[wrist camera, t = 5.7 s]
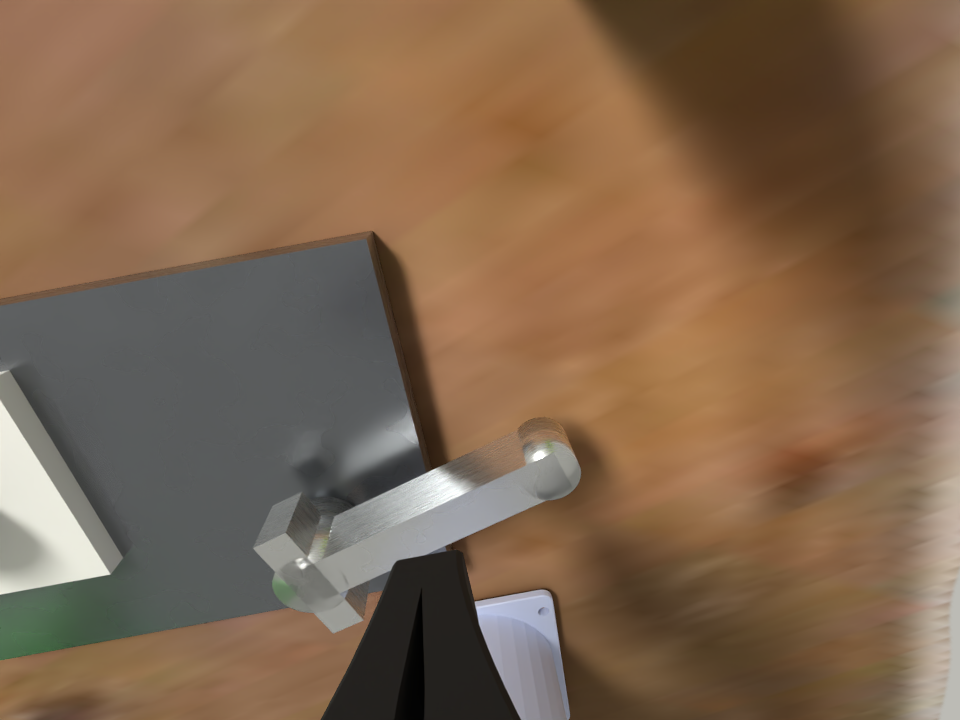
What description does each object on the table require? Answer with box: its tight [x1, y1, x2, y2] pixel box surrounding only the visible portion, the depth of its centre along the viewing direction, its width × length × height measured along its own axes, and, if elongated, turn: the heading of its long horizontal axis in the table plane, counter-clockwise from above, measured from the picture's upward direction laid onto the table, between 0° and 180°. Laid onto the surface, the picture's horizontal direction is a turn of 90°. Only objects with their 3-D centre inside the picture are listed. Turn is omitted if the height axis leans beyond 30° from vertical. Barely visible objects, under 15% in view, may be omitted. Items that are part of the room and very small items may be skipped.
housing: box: [0, 231, 452, 660], centre depth 19 cm, size 14×21×2 cm, turn 99°
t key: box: [253, 417, 581, 633], centre depth 17 cm, size 11×4×3 cm, turn 117°
